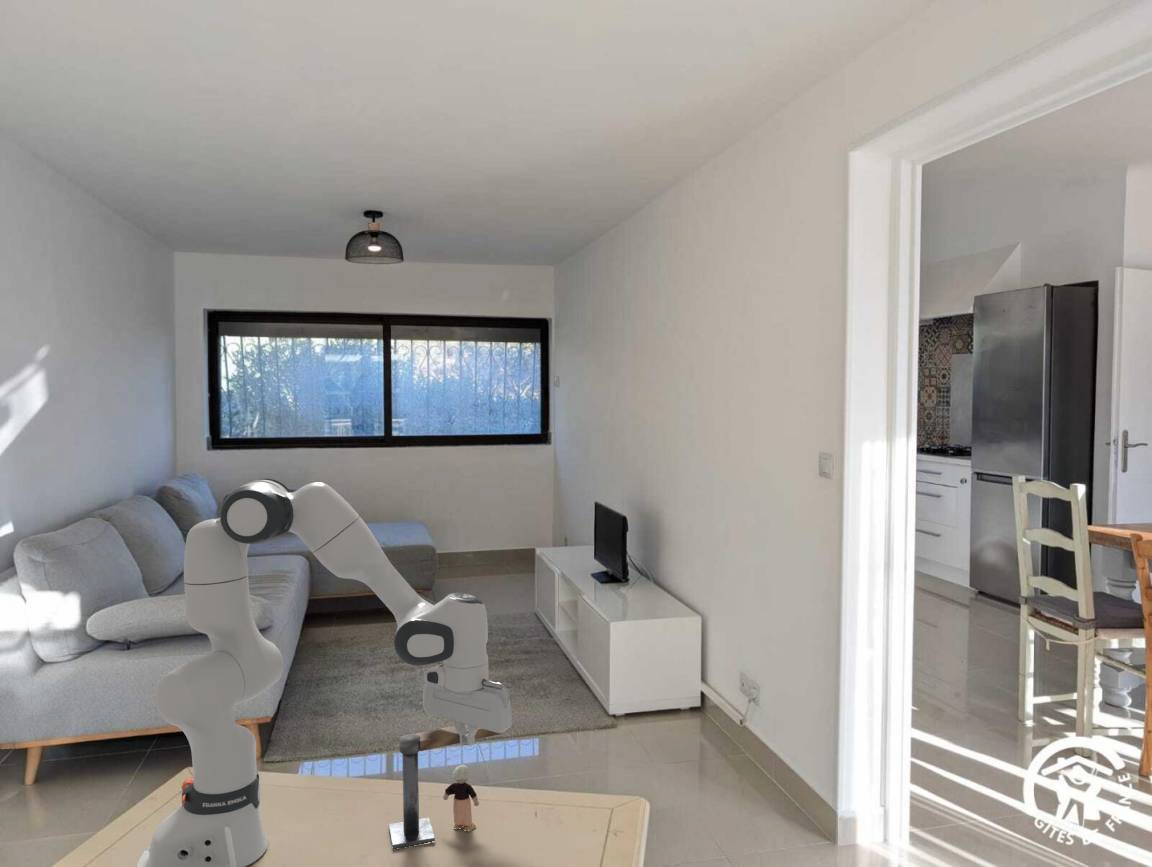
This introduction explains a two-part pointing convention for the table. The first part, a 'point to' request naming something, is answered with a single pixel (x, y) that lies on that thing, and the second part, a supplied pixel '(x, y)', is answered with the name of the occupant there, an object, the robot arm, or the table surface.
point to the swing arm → (436, 739)
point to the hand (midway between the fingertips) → (467, 744)
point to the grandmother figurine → (462, 798)
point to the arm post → (411, 810)
